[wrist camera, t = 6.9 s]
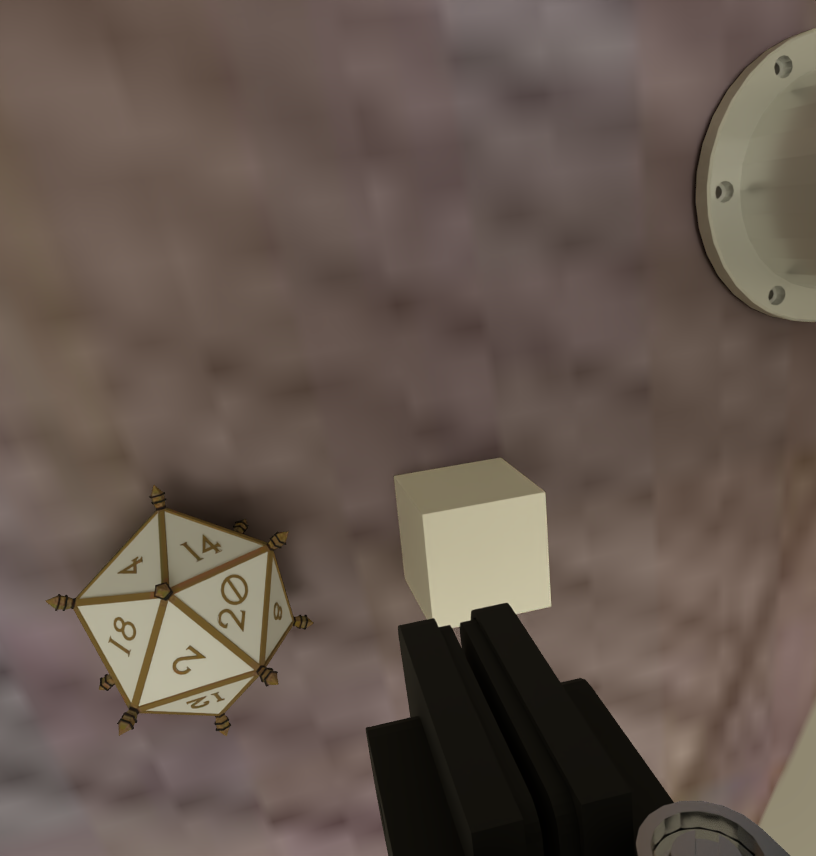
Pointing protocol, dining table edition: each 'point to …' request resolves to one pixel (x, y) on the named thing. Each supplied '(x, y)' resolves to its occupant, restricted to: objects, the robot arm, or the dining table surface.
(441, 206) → the dining table surface
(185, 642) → the game die
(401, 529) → the off-white block
